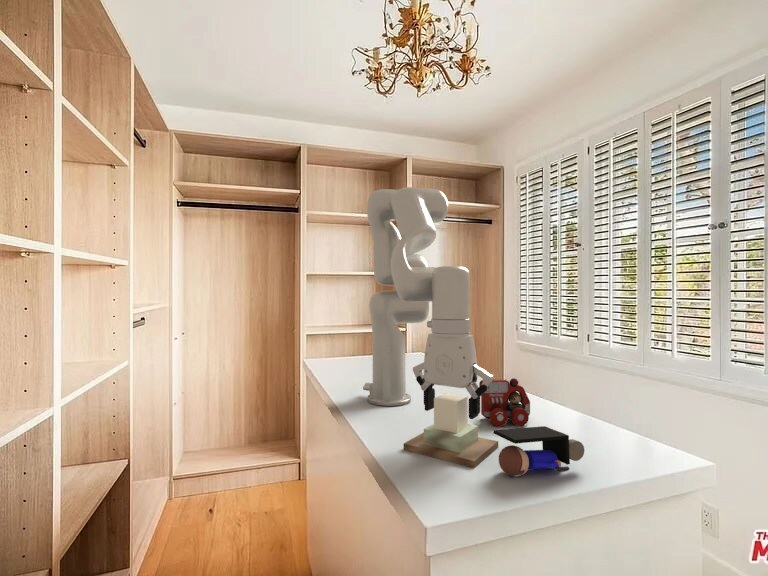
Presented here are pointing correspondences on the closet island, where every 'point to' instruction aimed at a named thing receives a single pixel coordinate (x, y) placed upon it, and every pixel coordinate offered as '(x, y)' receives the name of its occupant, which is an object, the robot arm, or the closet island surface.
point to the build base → (454, 456)
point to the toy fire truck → (505, 403)
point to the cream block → (450, 412)
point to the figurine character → (551, 456)
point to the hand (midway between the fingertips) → (451, 413)
